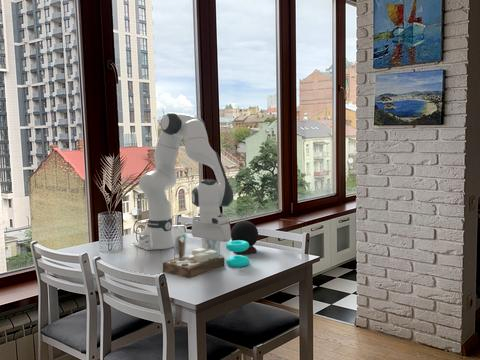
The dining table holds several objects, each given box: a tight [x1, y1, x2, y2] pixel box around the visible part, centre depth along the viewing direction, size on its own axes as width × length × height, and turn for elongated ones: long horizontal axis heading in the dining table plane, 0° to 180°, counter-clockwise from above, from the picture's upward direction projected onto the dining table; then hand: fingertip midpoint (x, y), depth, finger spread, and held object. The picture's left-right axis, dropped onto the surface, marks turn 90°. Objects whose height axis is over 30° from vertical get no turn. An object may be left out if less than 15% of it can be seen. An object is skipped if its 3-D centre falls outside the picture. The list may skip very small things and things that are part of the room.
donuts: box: [225, 240, 250, 268], centre depth 218 cm, size 10×10×10 cm
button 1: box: [182, 253, 194, 260], centre depth 217 cm, size 4×4×4 cm
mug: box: [201, 238, 221, 256], centre depth 233 cm, size 12×8×10 cm
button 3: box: [191, 247, 206, 255], centre depth 221 cm, size 4×4×4 cm
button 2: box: [194, 253, 209, 263], centre depth 212 cm, size 4×4×4 cm
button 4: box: [204, 250, 218, 259], centre depth 217 cm, size 4×4×4 cm
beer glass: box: [172, 224, 188, 259], centre depth 231 cm, size 7×7×15 cm
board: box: [161, 255, 226, 279], centre depth 214 cm, size 16×21×4 cm
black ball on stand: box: [230, 220, 259, 256], centre depth 240 cm, size 13×13×15 cm
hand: (211, 249), depth 216 cm, fingers closed
